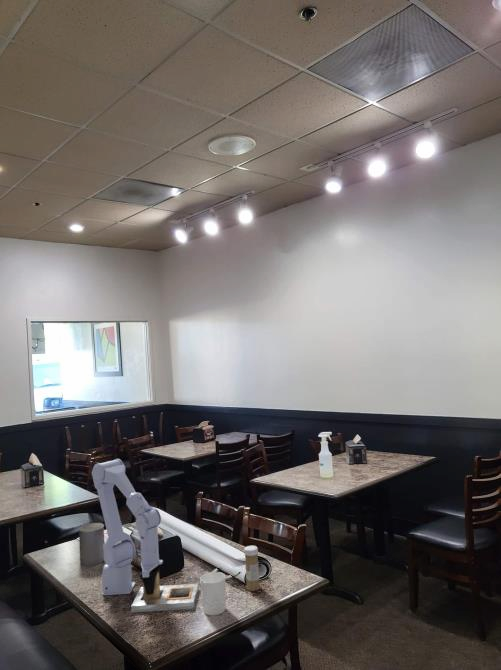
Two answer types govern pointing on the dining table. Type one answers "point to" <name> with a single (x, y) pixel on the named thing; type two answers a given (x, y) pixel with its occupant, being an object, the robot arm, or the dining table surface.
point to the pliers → (225, 576)
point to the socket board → (167, 599)
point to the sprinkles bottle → (252, 567)
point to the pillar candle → (91, 544)
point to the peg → (156, 590)
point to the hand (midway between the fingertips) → (151, 590)
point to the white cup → (213, 592)
